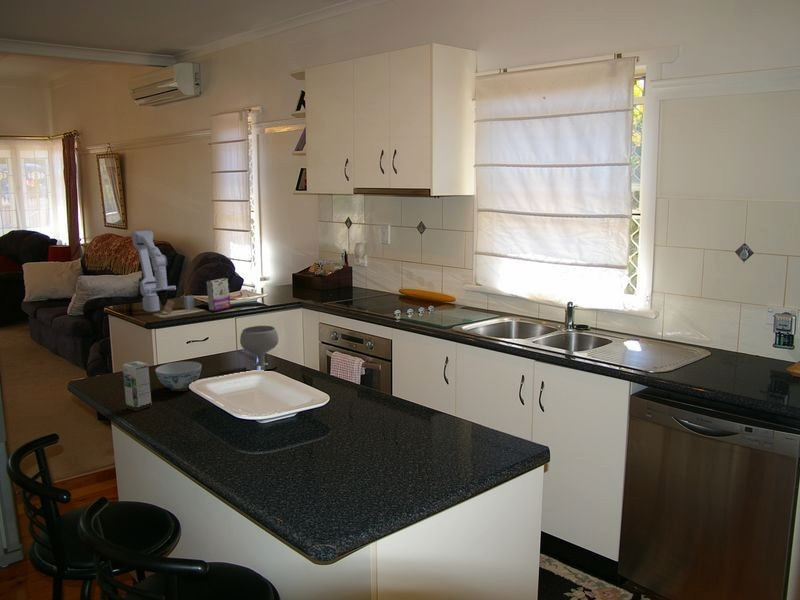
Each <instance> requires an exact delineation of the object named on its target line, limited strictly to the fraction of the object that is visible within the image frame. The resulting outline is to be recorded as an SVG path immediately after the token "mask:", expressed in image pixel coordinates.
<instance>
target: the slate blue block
mask: <svg viewBox="0 0 800 600" xmlns="http://www.w3.org/2000/svg"><path fill="white" fill-rule="evenodd" d="M182 297H183V307H184V308H183V309H186V310H191V309H195V308H196V307H195V297H194V295H184V296H182Z"/></svg>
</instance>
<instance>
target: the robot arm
mask: <svg viewBox="0 0 800 600" xmlns="http://www.w3.org/2000/svg"><path fill="white" fill-rule="evenodd" d="M131 240H132V245H133V248H135V249H136V250H137V253H138V258H139V261H140V266H141V272H142V274H143V276H142V277H143V279H142V280H141V281H140V282H139V291H140V294H141V296H143V297H142V308H143V311H145V312H150V313H151V312H158V311H159V312H160V309H161V307H160V306H162V305H165V302H166V299H167V297H168V295H169V291H176V290H177V286H176V285H168V279H167V277H168V276H167V268H166V267H167V266H168V259H167V256H166V255H164V254H162V252H161V251H160V249H159V247H157V246H155V244H154V243H155V242H154V241H153V240H154V233H153V231H152V230H151V229H149V230H134V231H132V233H131ZM153 272H154V275H153ZM160 304H161V305H160Z"/></svg>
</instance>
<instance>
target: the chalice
mask: <svg viewBox="0 0 800 600" xmlns="http://www.w3.org/2000/svg"><path fill="white" fill-rule="evenodd" d="M239 342H240V346H241V347H242V349H244V350H245V351H247V352H249V353H251V354H254V355H255V356H256V357H257V362H255V363H256V364H254V363H253V364H254V366H265V365H268V363H265V362H266V361H264V357H265V355H266V354H267V353H268V352H270V351H272V350H273V349H274V348H276V346H277V345H278V343H279V334H278V332H277V330H276V328H275V327H274V326H271V325H255V326H249V327H245V328H243V329H242V331H241V334H240V338H239Z"/></svg>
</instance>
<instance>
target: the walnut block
mask: <svg viewBox="0 0 800 600" xmlns="http://www.w3.org/2000/svg"><path fill="white" fill-rule="evenodd" d="M174 305H175V301H173V300H170V299H168V298H166V302H165V305H161V307H160V310H159V312H160V313H162V312H164V313H167V314H170V313H171V311H173V308H174Z"/></svg>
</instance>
